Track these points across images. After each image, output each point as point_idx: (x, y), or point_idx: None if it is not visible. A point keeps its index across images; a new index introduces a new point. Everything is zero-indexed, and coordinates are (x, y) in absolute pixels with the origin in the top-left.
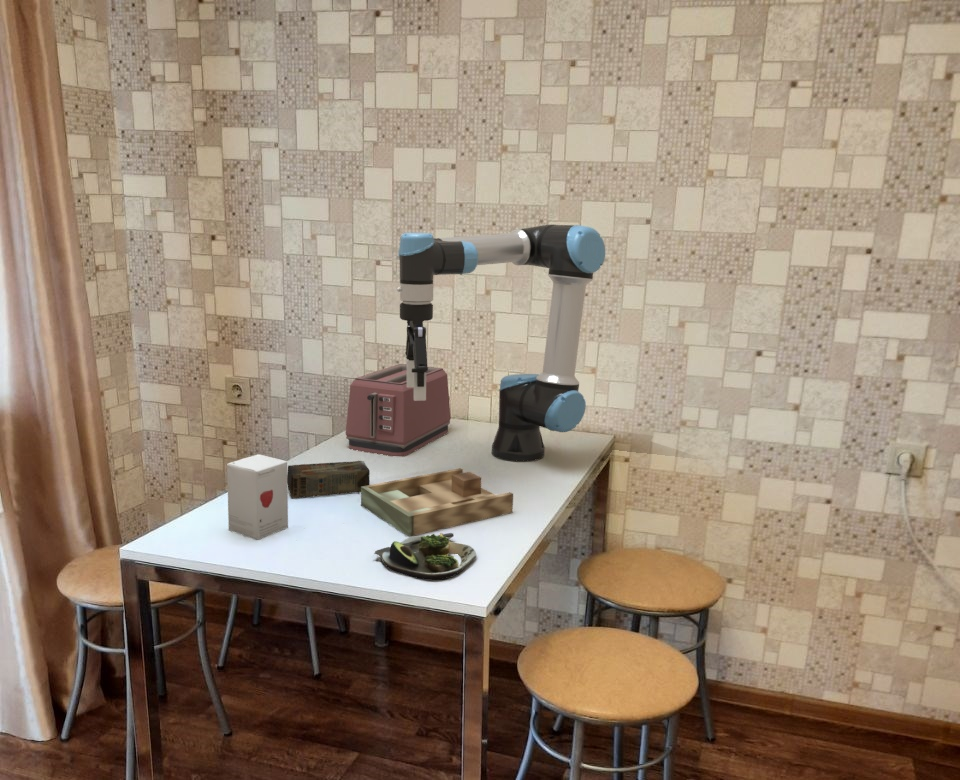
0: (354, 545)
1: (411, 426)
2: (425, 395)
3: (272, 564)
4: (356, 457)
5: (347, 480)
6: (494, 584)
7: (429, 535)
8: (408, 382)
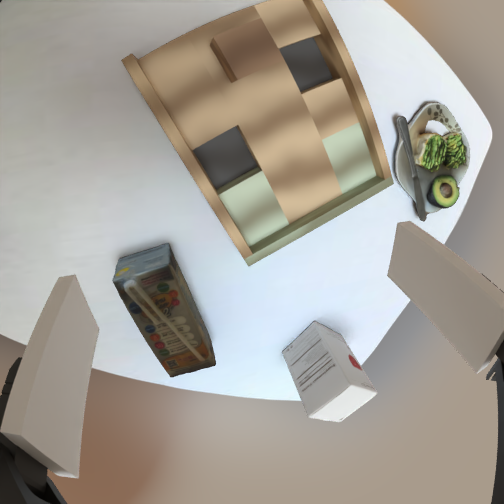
0: (382, 242)
1: None
2: (425, 235)
3: (395, 307)
4: (6, 281)
5: (184, 289)
6: (475, 107)
7: (425, 157)
8: (91, 344)
